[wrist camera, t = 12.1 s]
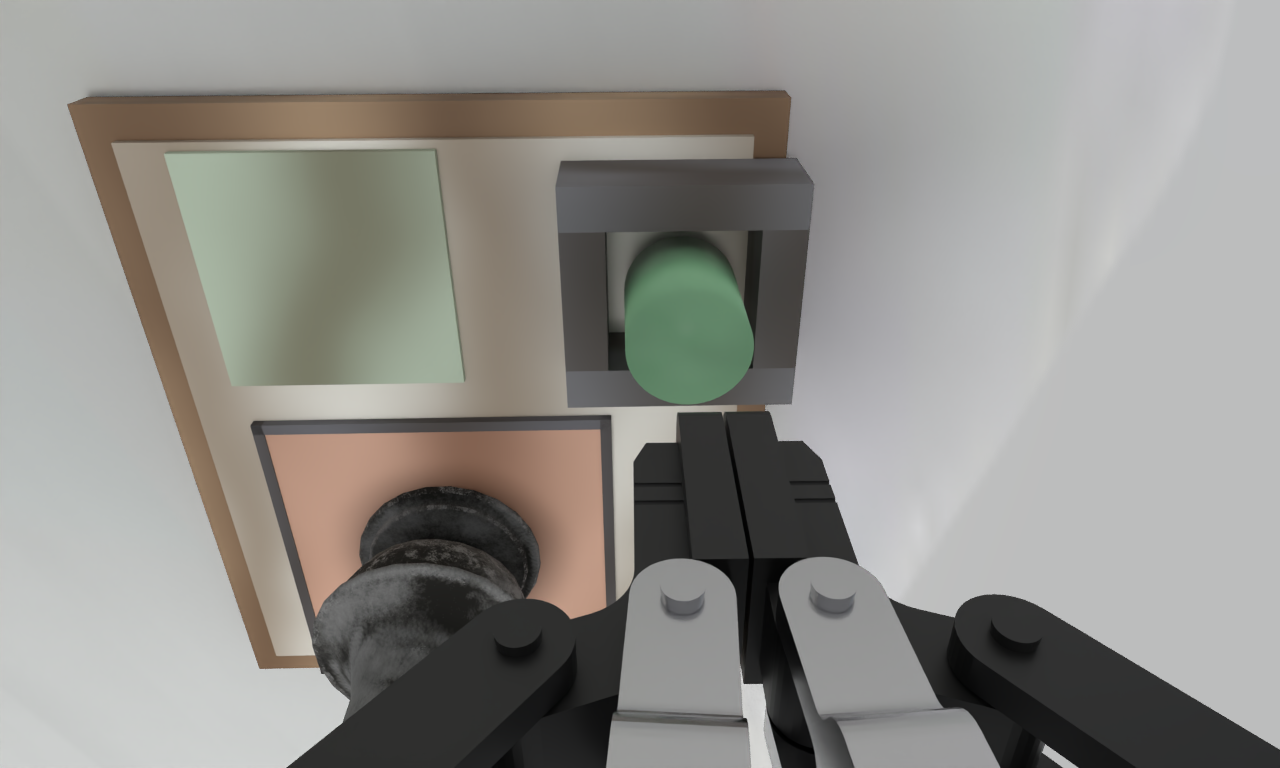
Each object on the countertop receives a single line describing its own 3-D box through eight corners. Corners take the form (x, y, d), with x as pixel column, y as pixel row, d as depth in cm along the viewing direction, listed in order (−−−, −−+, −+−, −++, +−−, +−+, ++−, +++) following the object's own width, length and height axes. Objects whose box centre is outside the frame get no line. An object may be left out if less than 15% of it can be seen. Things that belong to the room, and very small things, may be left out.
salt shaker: (385, 639, 26) (236, 1121, 16) (320, 493, 23) (84, 969, 13) (568, 614, 26) (536, 1092, 16) (526, 463, 23) (452, 927, 13)
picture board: (268, 649, 28) (232, 726, 25) (87, 96, 19) (3, 128, 16) (746, 639, 28) (759, 714, 26) (793, 90, 19) (820, 120, 17)
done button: (625, 339, 20) (625, 405, 17) (623, 236, 19) (624, 290, 16) (732, 337, 20) (749, 403, 17) (738, 235, 19) (758, 289, 16)
